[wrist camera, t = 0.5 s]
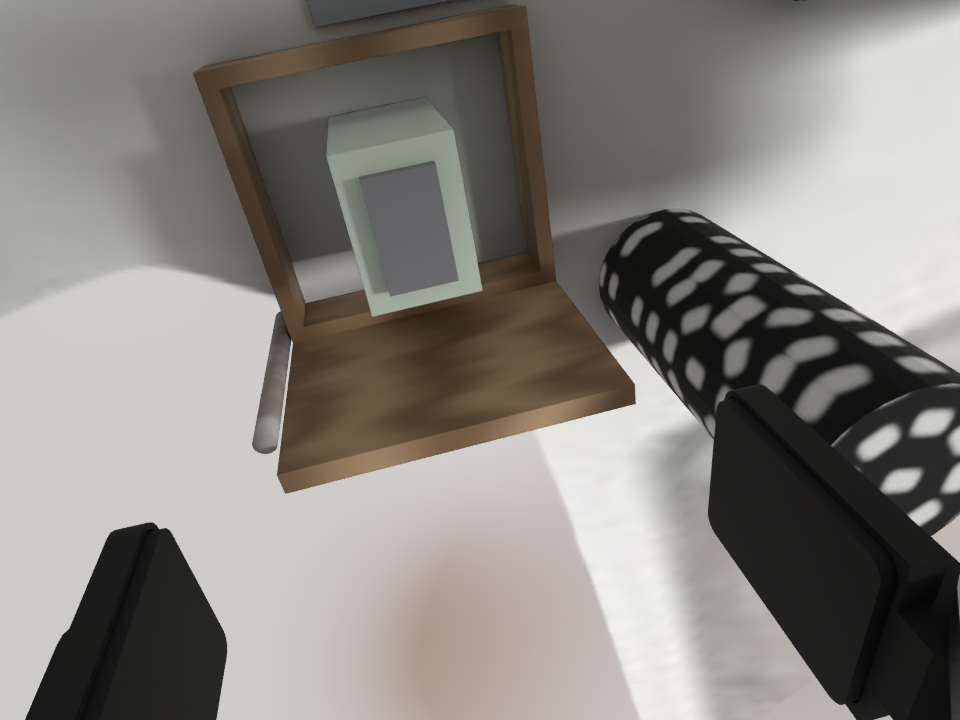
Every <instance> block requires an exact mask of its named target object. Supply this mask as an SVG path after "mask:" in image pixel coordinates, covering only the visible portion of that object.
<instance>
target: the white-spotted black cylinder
mask: <svg viewBox="0 0 960 720" xmlns="http://www.w3.org/2000/svg"><path fill="white" fill-rule="evenodd" d="M599 288H600V297H601V300H602V303H603V306H604V308H605V310H606V311H607V313H608V314H609V316H610V317H611V318H612V319H613V321H614V322H615V323H616V324H617V325H618V327H619V328H620V329H621V330H622V331H623V332H624V334H625V335H626V336H627V337H628V338H629V340H630V341H631V342H632V343H633V344H634V346H635V347H636V348H637V349H638V350H639V351H640V353H641V354H642V355H643V356H644V357H645V359H646V360H647V361H648V362H649V363H650V364H651V366H652V367H653V368H654V369H655V370H656V372H657V373H658V374H659V375H660V376H661V378H662V379H663V380H664V381H665V382H666V383H667V385H668V386H669V387H670V388H671V389H672V391H673V392H674V393H675V394H676V395H677V396H678V398H679V399H680V400H681V401H682V402H683V404H684V405H685V406H686V407H687V408H688V410H689V411H690V412H691V413H692V414H693V415H694V417H695V418H696V419H697V420H698V421H699V423H700V424H701V425H702V426H703V427H704V428H705V430H706V431H707V432H708V433H709V434H710V436H711V437H712V438H713V439H714V434H715V422H716V410H717V405H718V403H719V402H721V401H724V399H725V395H726V393H727V392H729V391H731V390H735V389H739V388H744V387H748V386H753V385H757V384H762V385H764V386H766V387H767V388H768V389H770V390H771V391H772V392H773V393H774V394H775V395H776V396H777V397H778V398H779V399H781V400H782V401H783V402H784V403H785V404H786V405H787V406H788V407H789V408H790V409H791V410H793V411H794V412H795V413H796V414H797V415H798V416H799V417H800V418H801V419H802V420H804V421H805V422H806V423H807V424H808V425H809V426H810V427H811V428H812V429H813V430H814V431H816V432H817V433H818V434H819V435H820V436H821V437H822V438H823V439H824V440H825V441H827V442H828V443H829V444H830V445H831V446H832V447H833V448H834V449H835V450H836V451H837V452H839V453H840V454H841V455H842V456H843V457H844V458H845V459H846V460H847V461H849V462H850V463H851V464H852V465H853V466H854V467H855V468H856V469H857V470H858V471H859V472H861V473H862V474H863V475H864V476H865V477H866V478H867V479H868V480H869V481H870V482H872V483H873V484H874V485H875V486H876V487H877V488H878V489H879V490H880V491H881V492H882V493H884V494H885V495H886V496H887V497H888V498H889V499H890V500H891V501H892V502H893V503H895V504H896V505H897V506H898V507H899V508H900V509H901V510H902V511H903V512H904V513H905V514H907V515H908V516H909V517H910V518H911V519H912V520H913V521H914V522H915V523H916V524H918V525H919V526H920V527H921V528H922V529H923V530H924V531H925V532H926V533H927V534H928V535H930V536H932V535H933V534H935V533H936V532H938V531H939V530H940V529H942V528H943V527H945V526H946V525H947V524H949V523H950V522H952V521H953V520H954V519H955V518H956V517H957V516H958V515H959V514H960V373H959V372H957V371H955V370H954V369H952V368H950V367H949V366H947V365H945V364H944V363H942V362H941V361H939V360H937V359H936V358H934V357H932V356H931V355H929V354H928V353H926V352H924V351H923V350H921V349H919V348H918V347H916V346H914V345H913V344H911V343H910V342H908V341H906V340H905V339H903V338H901V337H900V336H898V335H896V334H895V333H893V332H892V331H890V330H888V329H887V328H885V327H883V326H882V325H880V324H878V323H877V322H875V321H874V320H872V319H870V318H869V317H867V316H865V315H864V314H862V313H860V312H859V311H857V310H856V309H854V308H852V307H851V306H849V305H847V304H846V303H844V302H842V301H841V300H839V299H838V298H836V297H834V296H833V295H831V294H829V293H828V292H826V291H824V290H823V289H821V288H820V287H818V286H816V285H815V284H813V283H811V282H810V281H808V280H806V279H805V278H803V277H802V276H800V275H798V274H797V273H795V272H793V271H792V270H790V269H788V268H787V267H785V266H784V265H782V264H780V263H779V262H777V261H775V260H774V259H772V258H771V257H769V256H767V255H766V254H764V253H762V252H761V251H759V250H757V249H756V248H754V247H753V246H751V245H749V244H748V243H746V242H744V241H743V240H741V239H739V238H738V237H736V236H735V235H733V234H731V233H730V232H728V231H726V230H725V229H723V228H721V227H720V226H718V225H717V224H715V223H713V222H712V221H710V220H708V219H707V218H705V217H703V216H702V215H700V214H697V213H695V212H692V211H689V210H682V209H669V210H663V211H659V212H655V213H652V214H650V215H648V216H646V217H644V218H641V219H640V220H638V221H637V222H635V223H634V224H632V225H631V226H630V227H628V228H627V229H626V230H625V231H624V232H623V233H622V234H621V235H620V236H619V237H618V238H617V240H616V241H615V242H614V244H613V245H612V247H611V248H610V250H609V252H608V254H607V256H606V258H605V260H604V262H603V266H602V269H601V273H600V282H599Z"/></svg>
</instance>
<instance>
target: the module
mask: <svg viewBox="0 0 960 720" xmlns="http://www.w3.org/2000/svg"><path fill="white" fill-rule="evenodd" d="M326 157H327V160H328V164H329V167H330V171H331V174H332V178H333V181H334V185H335V188H336V192H337V195H338V199H339V202H340V206H341V209H342V213H343V216H344V220H345V223H346V227H347V230H348V234H349V237H350V241H351V244H352V247H353V251H354V254H355V258H356V261H357V265H358V268H359V272H360V275H361V279H362V282H363V286H364V289H365V293H366V296H367V300H368V303H369V307H370V310H371V314H372V317H373V316H377V315H382V314H386V313H390V312H394V311H399V310H403V309H407V308H411V307H415V306H420V305H424V304H428V303H432V302H437V301H441V300H445V299H449V298H453V297H458V296H462V295H466V294H470V293H475V292H479V291H482V285H481V279H480V274H479V268H478V263H477V257H476V251H475V246H474V240H473V235H472V229H471V224H470V218H469V212H468V207H467V201H466V196H465V190H464V184H463V179H462V173H461V168H460V162H459V156H458V151H457V145H456V140H455V134H454V129H453V128H452V127H451V126H450V124H449V123H448V122H447V121H446V120H445V119H444V117H443V116H442V115H441V114H440V113H439V112H438V110H437V109H436V108H435V107H434V106H433V105H432V103H431V102H430V101H429V100H428V99H427V97H423V98H418V99H413V100H409V101H404V102H399V103H394V104H390V105H385V106H380V107H375V108H370V109H366V110H361V111H356V112H351V113H347V114H342V115H337V116H332V117H329V122H328V139H327V156H326Z"/></svg>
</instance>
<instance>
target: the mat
mask: <svg viewBox="0 0 960 720" xmlns="http://www.w3.org/2000/svg"><path fill="white" fill-rule="evenodd" d="M445 1H450V0H308V4H309V8H310V12H311V15H312V19H313V23H314V26H315V27H318V26H323V25H328V24H333V23H338V22H343V21H348V20H354V19H359V18H364V17H369V16H374V15H379V14H384V13H389V12H394V11H399V10H404V9H409V8H414V7H419V6H424V5H429V4H434V3H440V2H445Z"/></svg>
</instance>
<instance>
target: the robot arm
mask: <svg viewBox="0 0 960 720" xmlns="http://www.w3.org/2000/svg"><path fill="white" fill-rule="evenodd" d="M708 517H709V521H710V524H711V527H712V529H713V531H714V533H715V534H716V536H717V537H718V539H719V540H720V541H721V543H722V544H723V546H724V547H725V548H726V550H727V551H728V553H729V554H730V556H731V557H732V558H733V560H734V561H735V563H736V564H737V566H738V567H739V568H740V570H741V571H742V573H743V574H744V576H745V577H746V578H747V580H748V581H749V583H750V584H751V585H752V587H753V588H754V590H755V591H756V593H757V594H758V595H759V597H760V598H761V600H762V601H763V603H764V604H765V605H766V607H767V608H768V610H769V611H770V613H771V614H772V615H773V617H774V618H775V620H776V621H777V622H778V624H779V625H780V627H781V628H782V630H783V631H784V632H785V634H786V635H787V637H788V638H789V640H790V641H791V642H792V644H793V645H794V647H795V648H796V650H797V651H798V652H799V654H800V655H801V657H802V658H803V659H804V661H805V662H806V664H807V665H808V667H809V668H810V669H811V671H812V672H813V674H814V675H815V677H816V678H817V679H818V681H819V682H820V684H821V685H822V686H823V688H824V689H825V691H826V692H827V694H828V695H829V696H830V697H831V699H832V700H834V701H835V702H836V703H837V704H840V705H843V704H846V706H847V707H848V708H849V710H850V711H851V712H852V714H853V715H854V717H855V718H856V720H874V719H877V718H881V717H885V716H888V715H890V716H891V717H892V719H893V720H960V563H959V562H958V561H957V560H956V559H955V558H954V557H952V556H951V555H950V554H949V553H948V552H947V551H946V550H945V549H944V548H943V547H942V546H941V545H939V544H938V543H937V542H936V541H935V540H934V539H933V538H932V537H931V536H930V535H928V534H927V533H926V532H925V531H924V530H923V529H922V528H921V527H920V526H919V525H918V524H916V523H915V522H914V521H913V520H912V519H911V518H910V517H909V516H908V515H907V514H905V513H904V512H903V511H902V510H901V509H900V508H899V507H898V506H897V505H896V504H895V503H893V502H892V501H891V500H890V499H889V498H888V497H887V496H886V495H885V494H884V493H882V492H881V491H880V490H879V489H878V488H877V487H876V486H875V485H874V484H873V483H872V482H870V481H869V480H868V479H867V478H866V477H865V476H864V475H863V474H862V473H861V472H859V471H858V470H857V469H856V468H855V467H854V466H853V465H852V464H851V463H850V462H849V461H847V460H846V459H845V458H844V457H843V456H842V455H841V454H840V453H839V452H837V451H836V450H835V449H834V448H833V447H832V446H831V445H830V444H829V443H828V442H827V441H825V440H824V439H823V438H822V437H821V436H820V435H819V434H818V433H817V432H816V431H814V430H813V429H812V428H811V427H810V426H809V425H808V424H807V423H806V422H805V421H804V420H802V419H801V418H800V417H799V416H798V415H797V414H796V413H795V412H794V411H793V410H791V409H790V408H789V407H788V406H787V405H786V404H785V403H784V402H783V401H782V400H781V399H779V398H778V397H777V396H776V395H775V394H774V393H773V392H772V391H771V390H770V389H768V388H767V387H766V386H764V385H762V384H757V385H753V386H748V387H744V388H739V389H735V390H731V391H729V392H727V393H726V395H725V399H724V401H721V402H719V403H718V405H717V410H716V422H715V434H714V446H713V458H712V470H711V482H710V494H709V506H708ZM226 657H227V642H226V637H225V634H224V631H223V629H222V627H221V625H220V623H219V622H218V620H217V618H216V616H215V614H214V612H213V610H212V608H211V606H210V604H209V603H208V601H207V599H206V597H205V595H204V593H203V591H202V589H201V588H200V586H199V584H198V582H197V580H196V578H195V576H194V575H193V573H192V571H191V569H190V567H189V565H188V563H187V561H186V559H185V558H184V556H183V554H182V552H181V550H180V548H179V546H178V545H177V543H176V541H175V539H174V537H173V535H172V533H171V532H170V530H168V529H167V528H165V529H159V528H158V527H157V525H155V524H154V523H145V524H140V525H136V526H131V527H127V528H122V529H118V530H114V531H113V532H111V533H110V534H109V536H108V538H107V540H106V542H105V545H104V547H103V549H102V552H101V554H100V557H99V559H98V561H97V564H96V566H95V569H94V571H93V573H92V576H91V578H90V581H89V583H88V585H87V588H86V590H85V593H84V595H83V597H82V600H81V602H80V605H79V607H78V609H77V612H76V614H75V617H74V619H73V621H72V624H71V626H70V629H69V630H68V631H67V632H65V633H64V634H63V635H62V637H61V639H60V641H59V642H58V644H57V646H56V648H55V651H54V653H53V655H52V658H51V660H50V662H49V665H48V667H47V670H46V672H45V674H44V677H43V679H42V681H41V684H40V686H39V688H38V691H37V693H36V695H35V698H34V700H33V702H32V705H31V707H30V710H29V712H28V714H27V716H26V719H25V720H216V718H217V711H218V706H219V699H220V694H221V687H222V681H223V675H224V669H225V663H226Z"/></svg>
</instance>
